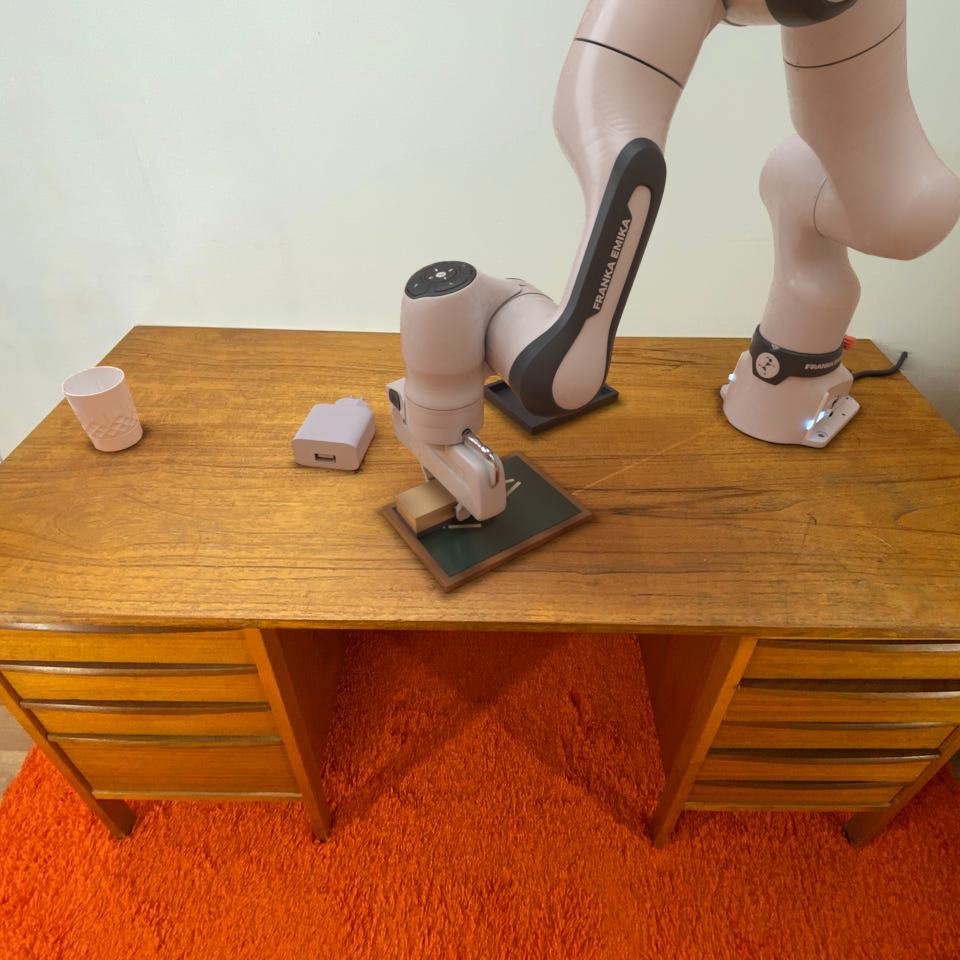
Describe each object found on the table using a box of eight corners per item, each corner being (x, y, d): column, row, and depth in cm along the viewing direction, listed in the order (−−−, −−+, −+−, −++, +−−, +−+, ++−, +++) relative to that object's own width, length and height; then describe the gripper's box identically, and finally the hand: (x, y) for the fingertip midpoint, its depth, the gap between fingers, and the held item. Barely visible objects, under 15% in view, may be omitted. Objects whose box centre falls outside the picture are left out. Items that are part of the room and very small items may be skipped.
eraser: (476, 482, 86) (476, 461, 84) (497, 502, 83) (498, 482, 80) (397, 515, 81) (395, 495, 78) (416, 539, 77) (415, 518, 75)
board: (517, 455, 92) (518, 449, 92) (591, 519, 82) (593, 512, 81) (381, 513, 83) (380, 506, 82) (446, 593, 73) (446, 586, 72)
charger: (387, 412, 101) (358, 471, 89) (330, 406, 102) (295, 464, 90) (384, 386, 98) (354, 444, 86) (326, 381, 99) (289, 437, 87)
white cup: (159, 431, 96) (136, 373, 90) (116, 460, 91) (89, 401, 84) (120, 418, 99) (96, 361, 92) (76, 446, 93) (47, 387, 87)
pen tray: (563, 367, 112) (564, 356, 110) (617, 403, 103) (619, 392, 102) (480, 397, 104) (480, 386, 103) (531, 438, 96) (532, 427, 94)
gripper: (523, 447, 67) (516, 540, 76) (423, 365, 80) (428, 453, 89) (473, 468, 64) (472, 562, 73) (378, 379, 77) (387, 468, 86)
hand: (447, 501), depth 81 cm, fingers closed on eraser, 5 cm apart
